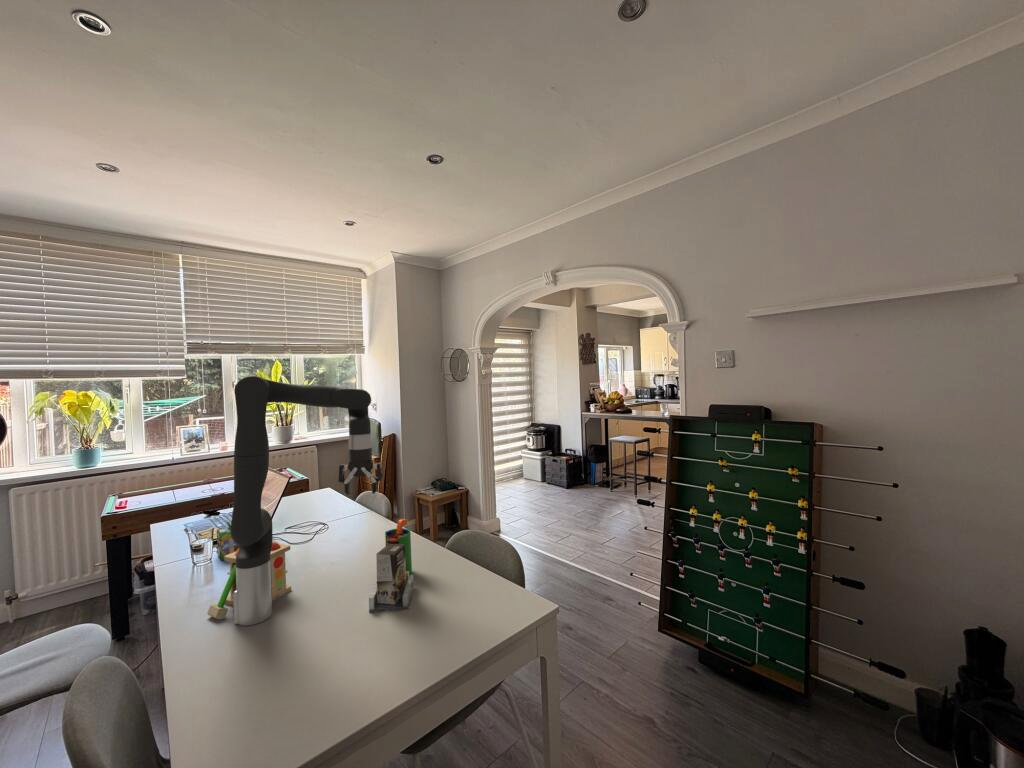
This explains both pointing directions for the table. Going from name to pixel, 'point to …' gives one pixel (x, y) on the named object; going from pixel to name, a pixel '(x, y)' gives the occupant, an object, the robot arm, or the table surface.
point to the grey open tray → (400, 604)
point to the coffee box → (391, 573)
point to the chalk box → (225, 542)
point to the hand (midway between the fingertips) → (361, 493)
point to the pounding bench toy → (276, 579)
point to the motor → (401, 541)
